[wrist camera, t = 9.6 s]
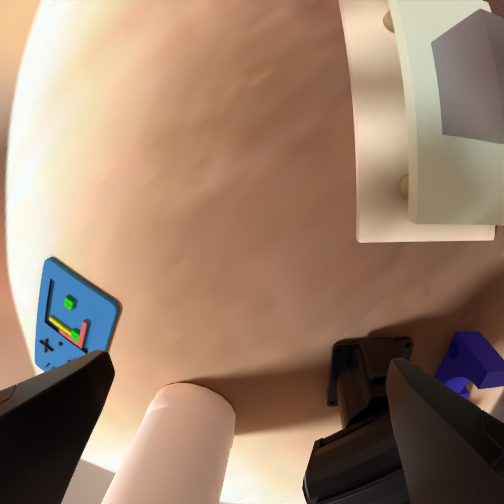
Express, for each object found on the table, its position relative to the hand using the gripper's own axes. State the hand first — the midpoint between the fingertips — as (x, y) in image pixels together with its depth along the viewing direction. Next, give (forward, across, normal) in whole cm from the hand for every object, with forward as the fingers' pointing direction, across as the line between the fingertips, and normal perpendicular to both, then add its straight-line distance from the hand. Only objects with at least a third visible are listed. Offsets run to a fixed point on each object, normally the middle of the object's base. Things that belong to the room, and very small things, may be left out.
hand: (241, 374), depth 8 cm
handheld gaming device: (+13, +19, +8) cm, 24 cm away
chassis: (+12, -11, -10) cm, 19 cm away
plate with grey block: (+8, -11, -10) cm, 17 cm away
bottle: (+12, +7, +15) cm, 21 cm away
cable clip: (+12, -17, +13) cm, 25 cm away
